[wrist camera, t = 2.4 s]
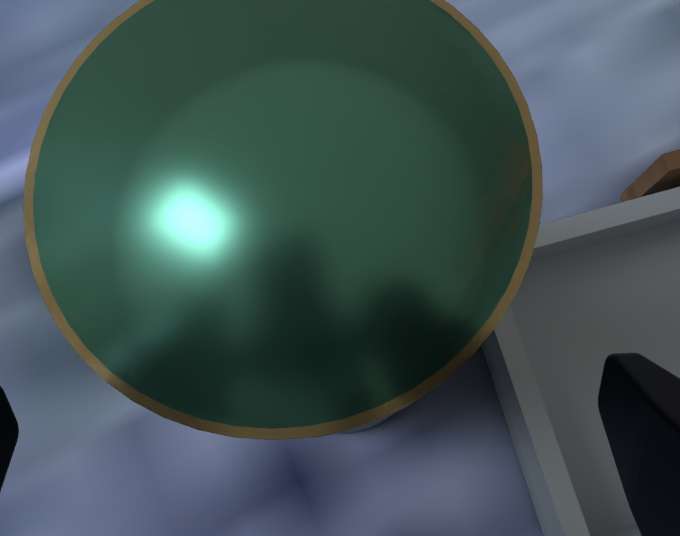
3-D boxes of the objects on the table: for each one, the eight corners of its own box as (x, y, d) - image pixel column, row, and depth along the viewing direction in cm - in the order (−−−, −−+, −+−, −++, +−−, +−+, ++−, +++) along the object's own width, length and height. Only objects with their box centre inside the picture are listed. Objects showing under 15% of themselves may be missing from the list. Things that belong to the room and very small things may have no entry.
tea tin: (451, 409, 18) (624, 352, 6) (274, 458, 18) (61, 509, 6) (399, 241, 20) (449, -96, 7) (234, 286, 20) (-5, 21, 7)
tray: (857, 478, 17) (929, 485, 15) (553, 565, 17) (580, 585, 15) (724, 193, 20) (768, 162, 17) (454, 266, 19) (465, 244, 17)
